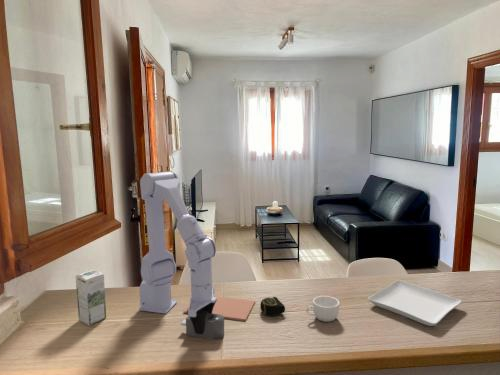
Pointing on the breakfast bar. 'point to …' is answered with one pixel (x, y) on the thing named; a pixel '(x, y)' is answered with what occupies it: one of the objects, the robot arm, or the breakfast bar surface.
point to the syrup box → (91, 297)
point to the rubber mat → (232, 308)
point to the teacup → (325, 308)
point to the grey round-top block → (207, 327)
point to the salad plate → (414, 302)
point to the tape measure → (272, 306)
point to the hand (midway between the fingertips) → (202, 328)
